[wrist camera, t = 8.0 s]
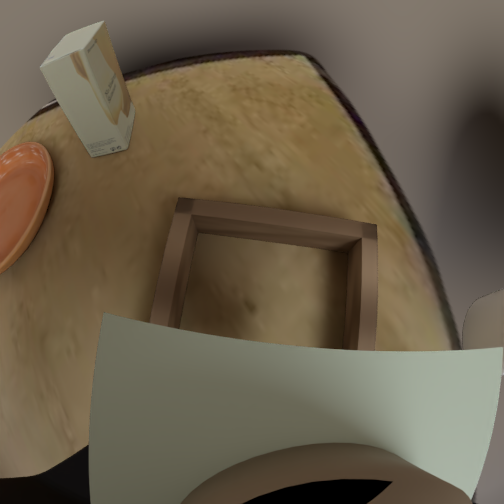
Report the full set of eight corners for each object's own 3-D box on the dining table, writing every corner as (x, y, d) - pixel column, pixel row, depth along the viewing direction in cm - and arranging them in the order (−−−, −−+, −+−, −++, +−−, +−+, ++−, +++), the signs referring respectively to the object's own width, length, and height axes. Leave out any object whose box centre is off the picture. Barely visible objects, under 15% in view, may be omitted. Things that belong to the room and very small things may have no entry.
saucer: (24, 143, 26) (13, 129, 23) (90, 177, 24) (77, 160, 21) (-39, 244, 21) (-54, 235, 18) (8, 316, 19) (-13, 310, 16)
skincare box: (129, 150, 24) (83, 49, 13) (91, 159, 24) (36, 69, 13) (136, 108, 27) (105, 17, 15) (102, 117, 26) (63, 33, 15)
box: (348, 421, 17) (363, 431, 14) (152, 398, 17) (137, 404, 14) (362, 240, 22) (376, 224, 19) (186, 216, 22) (178, 197, 19)
